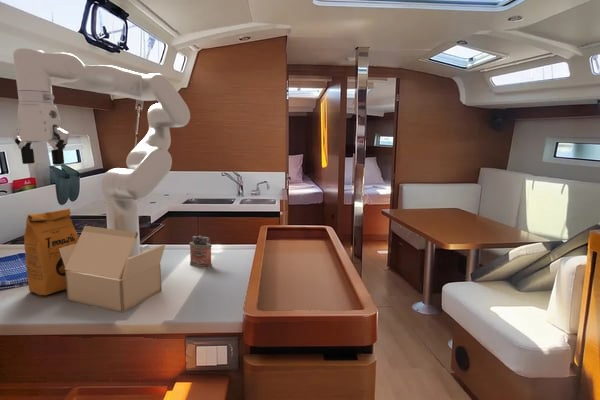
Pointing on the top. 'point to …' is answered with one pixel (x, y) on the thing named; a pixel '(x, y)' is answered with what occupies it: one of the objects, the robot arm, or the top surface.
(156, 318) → the top surface
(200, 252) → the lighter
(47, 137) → the robot arm
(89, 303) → the carton
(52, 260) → the coffee package
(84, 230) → the lid flap
